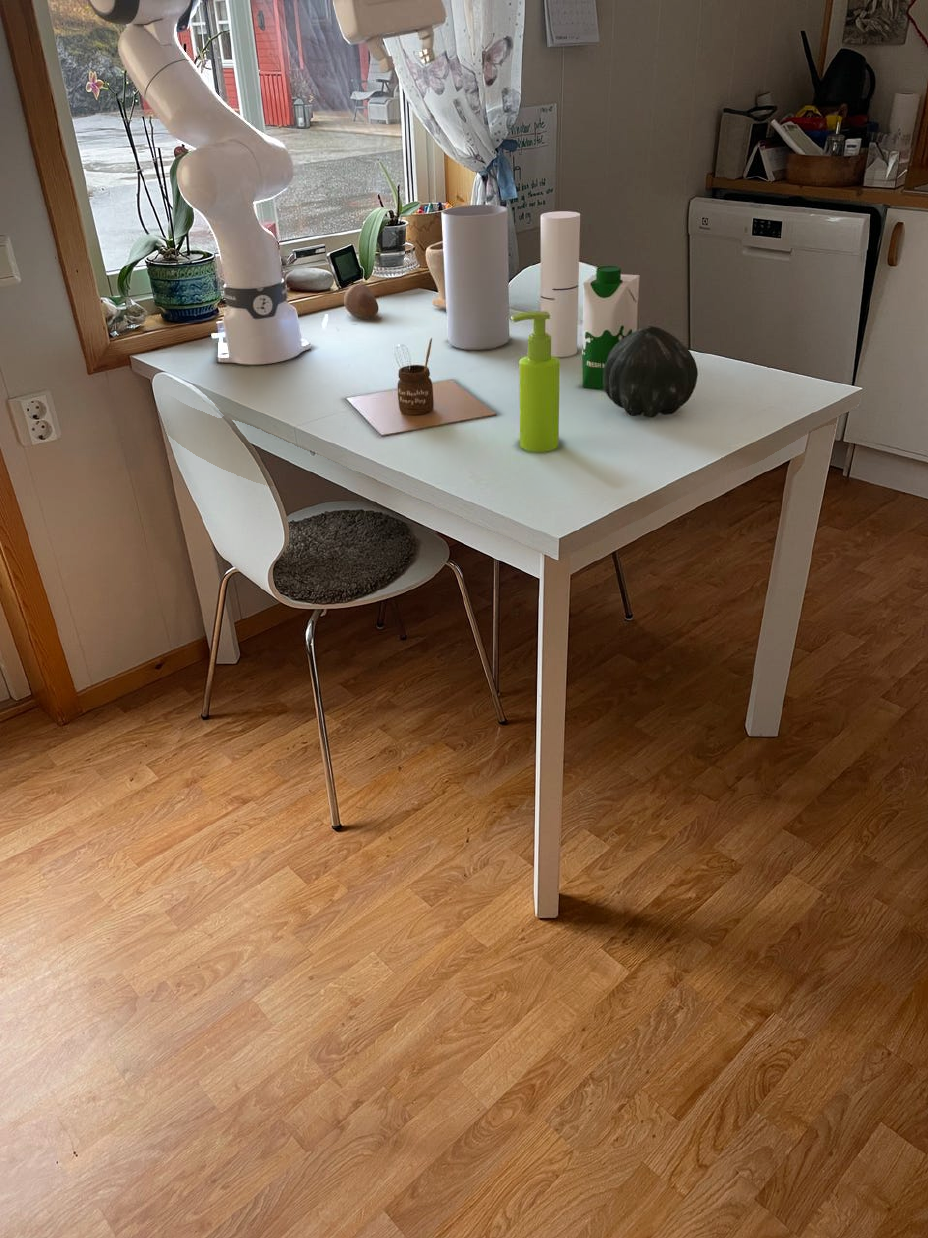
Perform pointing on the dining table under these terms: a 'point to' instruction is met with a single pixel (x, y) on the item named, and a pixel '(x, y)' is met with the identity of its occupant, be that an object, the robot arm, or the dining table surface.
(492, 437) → the dining table surface
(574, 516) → the dining table surface
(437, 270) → the stone cup
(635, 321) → the milk carton
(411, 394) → the utensil holder
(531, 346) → the soap dispenser
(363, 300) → the potato
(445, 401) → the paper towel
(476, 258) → the cylinder vase
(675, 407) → the squash
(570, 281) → the cylindrical container
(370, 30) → the robot arm
